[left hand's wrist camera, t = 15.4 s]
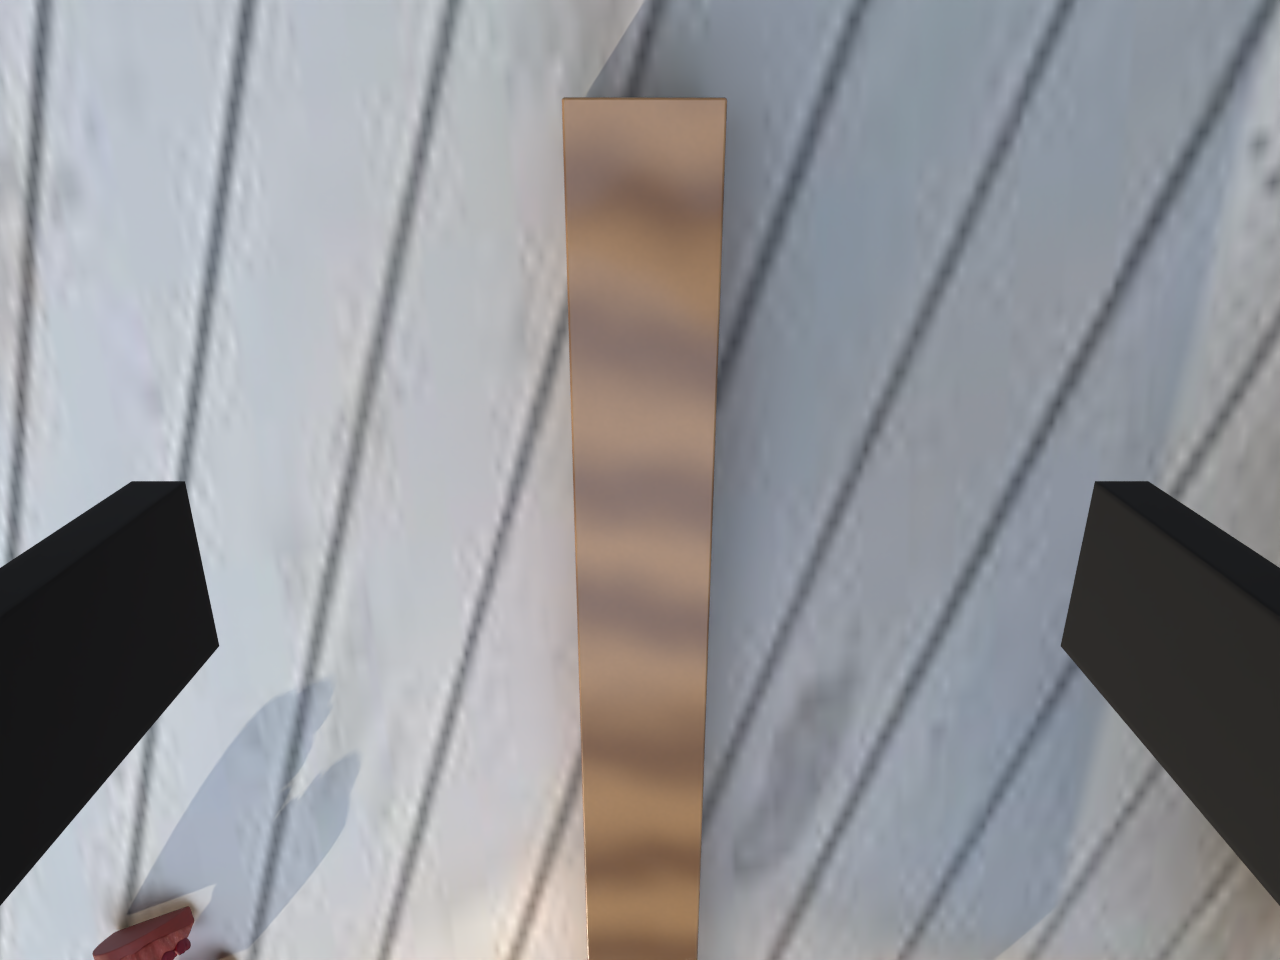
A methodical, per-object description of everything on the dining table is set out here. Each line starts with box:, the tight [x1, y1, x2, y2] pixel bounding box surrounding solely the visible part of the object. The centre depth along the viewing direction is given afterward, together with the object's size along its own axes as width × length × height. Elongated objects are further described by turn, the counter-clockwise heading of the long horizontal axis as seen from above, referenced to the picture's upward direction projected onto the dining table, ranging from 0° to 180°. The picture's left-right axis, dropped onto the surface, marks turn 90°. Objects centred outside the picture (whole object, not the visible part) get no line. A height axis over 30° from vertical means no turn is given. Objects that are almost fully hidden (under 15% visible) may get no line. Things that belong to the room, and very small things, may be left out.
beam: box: [562, 97, 727, 960], centre depth 47 cm, size 78×6×8 cm, turn 0°
